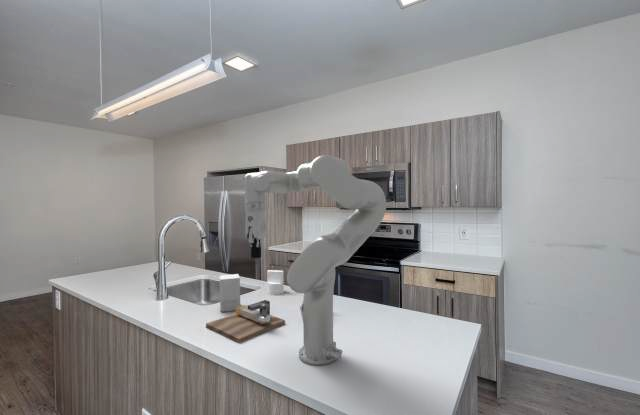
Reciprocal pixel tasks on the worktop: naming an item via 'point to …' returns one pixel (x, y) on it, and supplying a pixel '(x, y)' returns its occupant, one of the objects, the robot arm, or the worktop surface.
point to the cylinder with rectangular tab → (275, 282)
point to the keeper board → (244, 325)
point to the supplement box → (229, 292)
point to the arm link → (255, 314)
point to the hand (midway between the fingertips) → (256, 257)
